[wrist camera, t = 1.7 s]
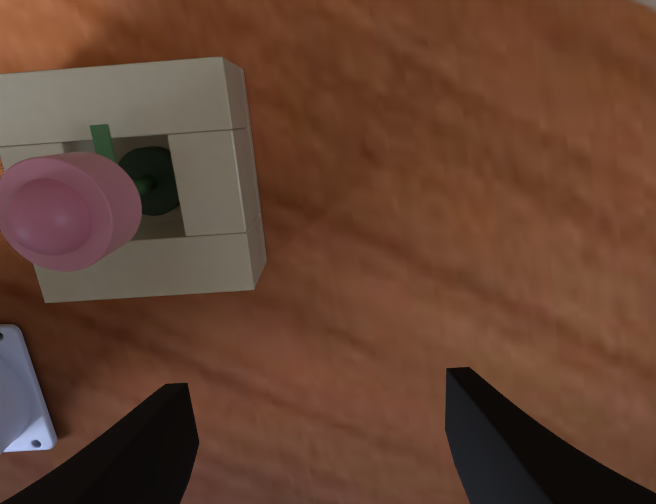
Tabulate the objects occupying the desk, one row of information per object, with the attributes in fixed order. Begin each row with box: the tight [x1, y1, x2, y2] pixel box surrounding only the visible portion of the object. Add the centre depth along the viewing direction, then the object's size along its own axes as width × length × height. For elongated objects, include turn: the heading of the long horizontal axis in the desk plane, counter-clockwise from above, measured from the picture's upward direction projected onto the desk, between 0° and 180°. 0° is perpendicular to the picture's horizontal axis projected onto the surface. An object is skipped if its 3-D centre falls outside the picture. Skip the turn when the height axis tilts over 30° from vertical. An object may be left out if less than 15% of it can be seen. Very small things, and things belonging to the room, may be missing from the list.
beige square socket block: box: [0, 56, 267, 303], centre depth 18 cm, size 9×9×4 cm
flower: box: [0, 124, 180, 272], centre depth 15 cm, size 3×4×9 cm
